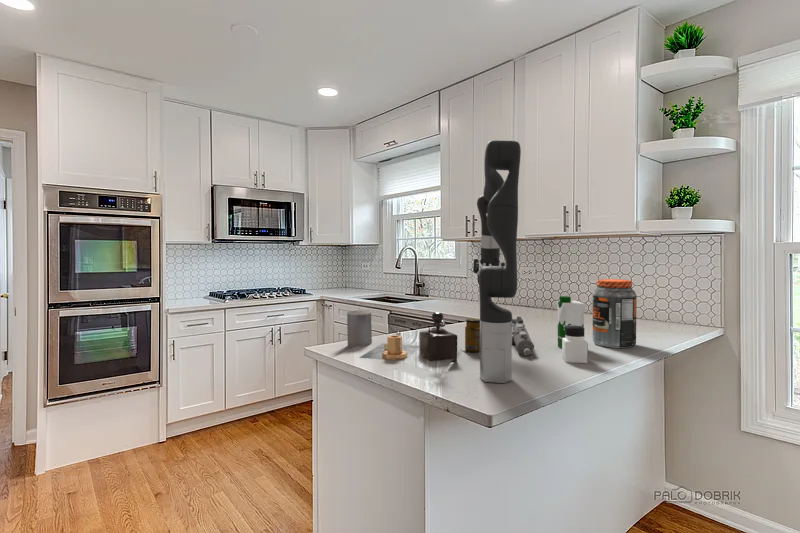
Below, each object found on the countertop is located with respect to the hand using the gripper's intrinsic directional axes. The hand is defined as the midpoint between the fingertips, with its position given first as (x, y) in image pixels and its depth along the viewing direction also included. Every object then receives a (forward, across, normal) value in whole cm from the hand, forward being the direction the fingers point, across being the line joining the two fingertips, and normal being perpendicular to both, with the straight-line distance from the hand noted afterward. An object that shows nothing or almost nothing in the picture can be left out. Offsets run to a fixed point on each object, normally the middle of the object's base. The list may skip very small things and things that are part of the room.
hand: (489, 285), depth 176 cm
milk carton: (+22, +30, +9) cm, 39 cm away
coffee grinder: (+18, +4, -39) cm, 43 cm away
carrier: (+19, -15, -43) cm, 49 cm away
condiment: (+21, +5, -19) cm, 29 cm away
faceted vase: (+16, -9, -48) cm, 51 cm away
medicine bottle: (+19, +38, -8) cm, 43 cm away
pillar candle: (+22, -34, -41) cm, 58 cm away
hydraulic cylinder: (+23, +15, -2) cm, 27 cm away
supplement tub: (+24, +41, +27) cm, 55 cm away
